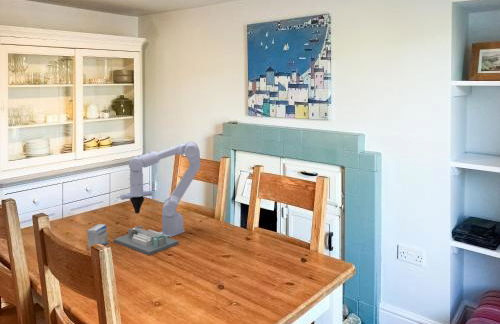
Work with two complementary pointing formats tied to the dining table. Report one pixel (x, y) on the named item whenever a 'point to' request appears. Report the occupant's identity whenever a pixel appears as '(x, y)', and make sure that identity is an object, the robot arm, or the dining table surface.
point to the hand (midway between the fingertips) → (137, 212)
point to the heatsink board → (142, 248)
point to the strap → (147, 233)
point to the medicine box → (97, 235)
